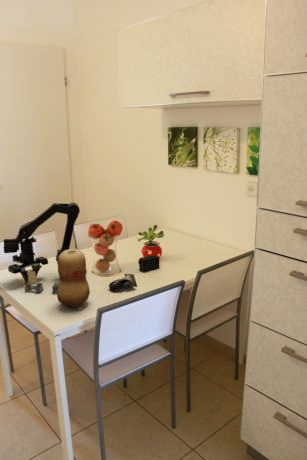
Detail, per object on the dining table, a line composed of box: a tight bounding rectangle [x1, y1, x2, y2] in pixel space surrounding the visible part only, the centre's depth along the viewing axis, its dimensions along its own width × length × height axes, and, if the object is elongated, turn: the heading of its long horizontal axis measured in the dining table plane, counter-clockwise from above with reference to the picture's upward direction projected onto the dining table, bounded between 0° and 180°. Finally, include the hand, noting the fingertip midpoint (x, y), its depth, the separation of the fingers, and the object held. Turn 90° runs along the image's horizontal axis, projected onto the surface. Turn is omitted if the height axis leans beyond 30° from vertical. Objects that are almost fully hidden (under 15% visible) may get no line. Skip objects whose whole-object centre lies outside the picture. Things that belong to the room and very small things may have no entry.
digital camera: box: [138, 254, 160, 274], centre depth 208 cm, size 10×5×7 cm, turn 127°
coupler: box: [24, 268, 37, 286], centre depth 192 cm, size 4×4×6 cm
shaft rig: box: [23, 282, 60, 295], centre depth 182 cm, size 22×4×4 cm, turn 87°
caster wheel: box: [108, 273, 138, 293], centre depth 184 cm, size 7×11×10 cm
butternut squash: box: [56, 248, 91, 308], centre depth 165 cm, size 14×13×25 cm
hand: (30, 281), depth 193 cm, fingers closed on coupler, 4 cm apart
